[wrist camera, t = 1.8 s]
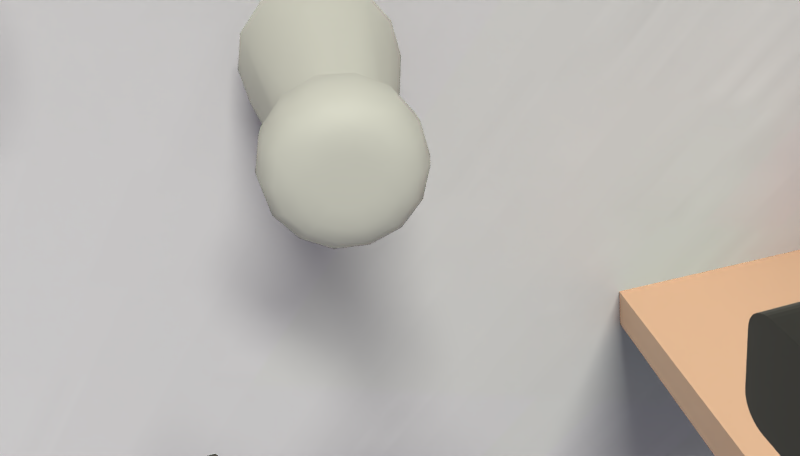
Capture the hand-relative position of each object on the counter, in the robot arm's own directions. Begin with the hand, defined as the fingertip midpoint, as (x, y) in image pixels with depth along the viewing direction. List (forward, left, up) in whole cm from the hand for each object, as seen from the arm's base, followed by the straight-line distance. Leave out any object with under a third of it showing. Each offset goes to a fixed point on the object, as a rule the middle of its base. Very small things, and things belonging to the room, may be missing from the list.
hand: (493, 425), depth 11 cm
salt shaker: (-1, -1, -21) cm, 21 cm away
